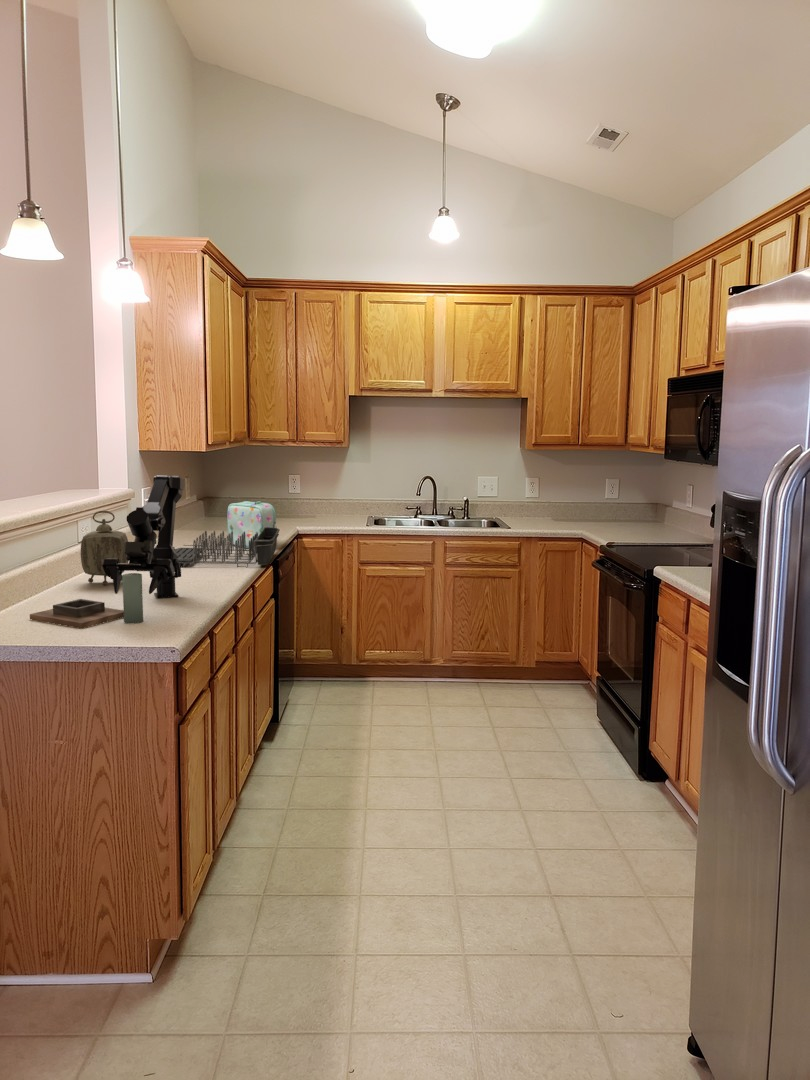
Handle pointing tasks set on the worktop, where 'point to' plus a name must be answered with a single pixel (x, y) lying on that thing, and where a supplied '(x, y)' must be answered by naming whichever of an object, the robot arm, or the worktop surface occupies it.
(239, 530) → the lunch box
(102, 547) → the tabletop clock
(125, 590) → the grey-green canister
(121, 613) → the walnut seat board
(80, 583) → the worktop surface
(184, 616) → the worktop surface
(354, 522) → the worktop surface
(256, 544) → the dish rack
